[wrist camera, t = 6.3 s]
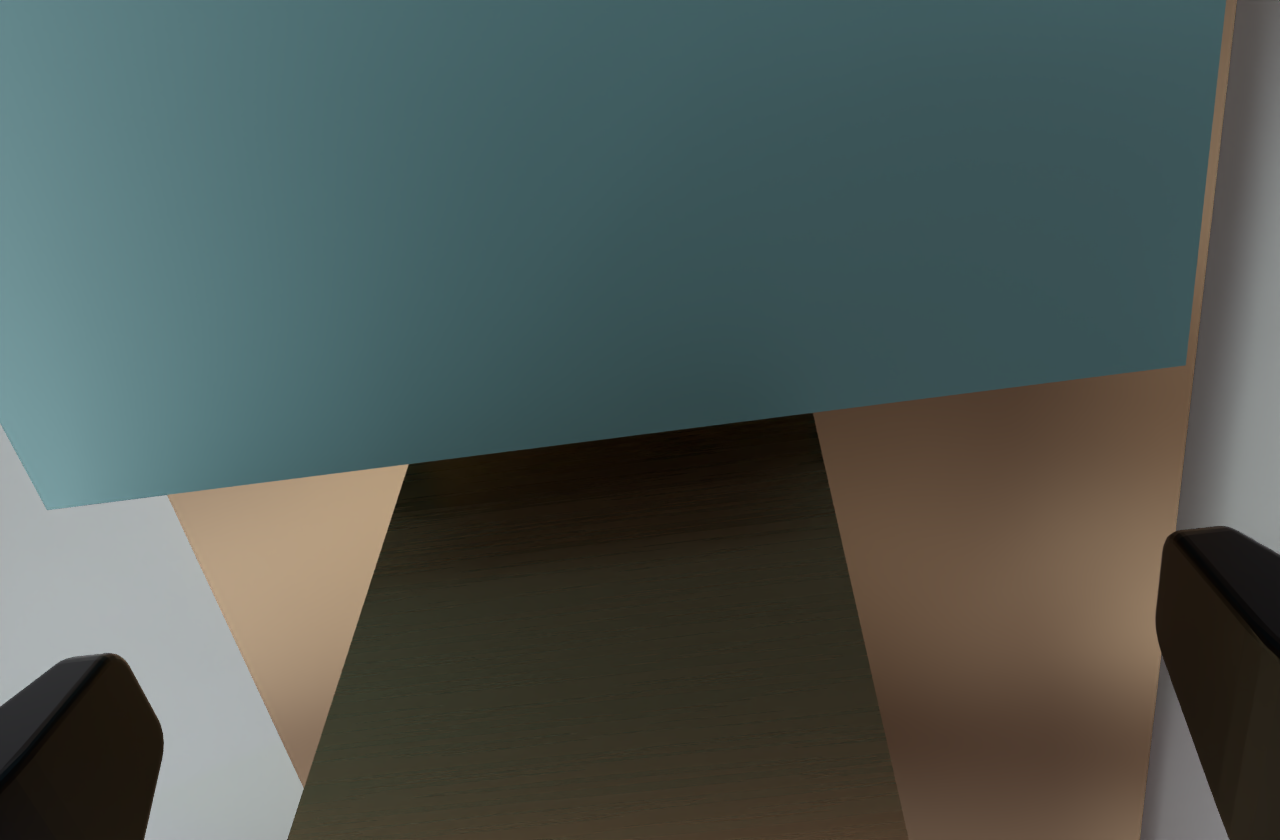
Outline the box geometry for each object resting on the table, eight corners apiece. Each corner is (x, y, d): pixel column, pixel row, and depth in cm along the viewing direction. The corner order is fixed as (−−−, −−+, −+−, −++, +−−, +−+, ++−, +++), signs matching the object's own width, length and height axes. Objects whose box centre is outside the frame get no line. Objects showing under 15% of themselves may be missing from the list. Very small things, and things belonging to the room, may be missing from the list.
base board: (1086, 1121, 25) (1101, 1171, 24) (505, 1161, 26) (500, 1209, 25) (1242, -487, 10) (1294, -502, 9) (-105, -225, 11) (-167, -220, 11)
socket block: (984, 116, 12) (1186, 365, 8) (263, 222, 13) (46, 509, 8) (984, -264, 10) (1252, -239, 6) (144, -114, 11) (-220, 15, 6)
